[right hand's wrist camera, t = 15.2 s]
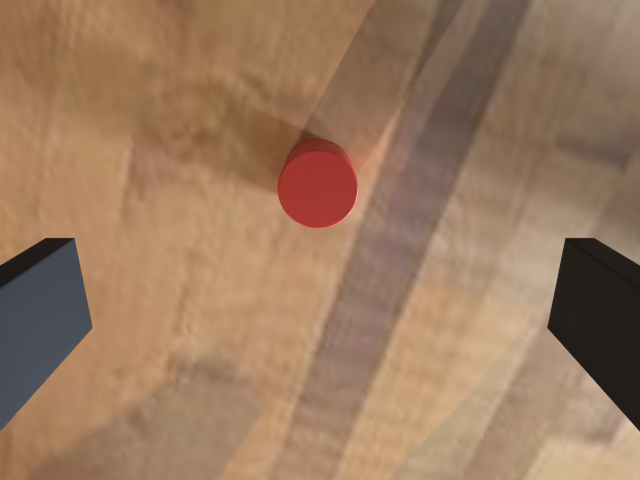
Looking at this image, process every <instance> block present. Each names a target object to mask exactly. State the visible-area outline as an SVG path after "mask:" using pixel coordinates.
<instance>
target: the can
mask: <svg viewBox="0 0 640 480" xmlns="http://www.w3.org/2000/svg"><path fill="white" fill-rule="evenodd" d="M278 196H279V200H280V203H281V205H282V207H283V209H284V211H285V212H286V213H287V214H288V216H289V217H290V218H292V219H293V220H294V221H296V222H297V223H299V224H301V225H303V226H306V227H310V228H326V227H330V226H333V225H335V224H337V223H339V222H341V221H342V220H343V219H345V218H346V217H347V216H348V215H349V213H350V212H351V211H352V209H353V207H354V206H355V203H356V200H357V197H358V181H357V177H356V174H355V172H354V169H353V167H352V164H351V162H350V159H349V157H348V156H347V154H346V153H345V152H344V150H342V149H341V148H340V147H339V146H338V145H336V144H334V143H332V142H330V141H326V140H319V139H318V140H310V141H306V142H304V143H302V144H300V145H299V146H297V147H296V148H295V149H294V150H293V151H292V152H291V153H290V154H289V156H288V158H287V160H286V162H285V164H284V167H283V170H282V172H281V175H280V178H279V182H278Z"/></svg>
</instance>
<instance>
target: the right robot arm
mask: <svg viewBox="0 0 640 480" xmlns="http://www.w3.org/2000/svg"><path fill="white" fill-rule="evenodd" d="M92 328H93V327H92V322H91V318H90V313H89V308H88V303H87V298H86V293H85V288H84V283H83V278H82V273H81V268H80V263H79V258H78V253H77V248H76V243H75V238H45V239H43V240H42V241H40V242H38V243H37V244H35V245H34V246H32V247H30V248H29V249H27V250H25V251H24V252H22V253H20V254H19V255H17V256H15V257H14V258H12V259H10V260H9V261H7V262H5V263H4V264H2V265H0V431H1V430H2V429H3V428H4V427H5V425H6V424H7V423H8V422H9V421H10V420H11V419H12V418H13V417H14V415H15V414H16V413H17V412H18V411H19V410H20V409H21V408H22V406H23V405H24V404H25V403H26V402H27V401H28V400H29V399H30V397H31V396H32V395H33V394H34V393H35V392H36V391H37V390H38V388H39V387H40V386H41V385H42V384H43V383H44V382H45V381H46V379H47V378H48V377H49V376H50V375H51V374H52V373H53V372H54V371H55V369H56V368H57V367H58V366H59V365H60V364H61V363H62V362H63V360H64V359H65V358H66V357H67V356H68V355H69V354H70V353H71V351H72V350H73V349H74V348H75V347H76V346H77V345H78V344H79V342H80V341H81V340H82V339H83V338H84V337H85V336H86V335H87V333H88V332H89V331H90V330H91V329H92ZM547 328H548V329H549V330H550V331H551V332H552V333H553V335H554V336H555V337H556V338H557V339H558V340H559V341H560V342H561V344H562V345H563V346H564V347H565V348H566V349H567V350H568V351H569V353H570V354H571V355H572V356H573V357H574V358H575V359H576V360H577V362H578V363H579V364H580V365H581V366H582V367H583V368H584V369H585V371H586V372H587V373H588V374H589V375H590V376H591V377H592V378H593V379H594V381H595V382H596V383H597V384H598V385H599V386H600V387H601V388H602V390H603V391H604V392H605V393H606V394H607V395H608V396H609V397H610V399H611V400H612V401H613V402H614V403H615V404H616V405H617V406H618V408H619V409H620V410H621V411H622V412H623V413H624V414H625V415H626V417H627V418H628V419H629V420H630V421H631V422H632V423H633V424H634V425H635V427H636V428H637V429H638V430H639V431H640V265H638V264H636V263H635V262H633V261H631V260H630V259H628V258H626V257H625V256H623V255H621V254H620V253H618V252H616V251H615V250H613V249H611V248H610V247H608V246H606V245H605V244H603V243H601V242H600V241H598V240H597V239H595V238H565V243H564V248H563V253H562V258H561V263H560V268H559V273H558V278H557V283H556V288H555V293H554V298H553V303H552V308H551V313H550V318H549V322H548V327H547Z"/></svg>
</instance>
